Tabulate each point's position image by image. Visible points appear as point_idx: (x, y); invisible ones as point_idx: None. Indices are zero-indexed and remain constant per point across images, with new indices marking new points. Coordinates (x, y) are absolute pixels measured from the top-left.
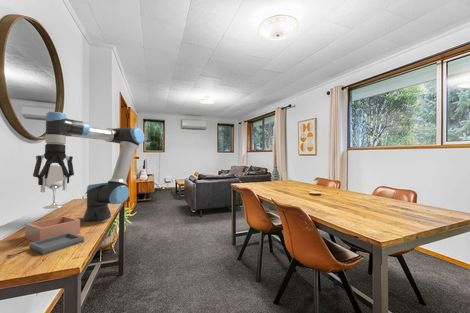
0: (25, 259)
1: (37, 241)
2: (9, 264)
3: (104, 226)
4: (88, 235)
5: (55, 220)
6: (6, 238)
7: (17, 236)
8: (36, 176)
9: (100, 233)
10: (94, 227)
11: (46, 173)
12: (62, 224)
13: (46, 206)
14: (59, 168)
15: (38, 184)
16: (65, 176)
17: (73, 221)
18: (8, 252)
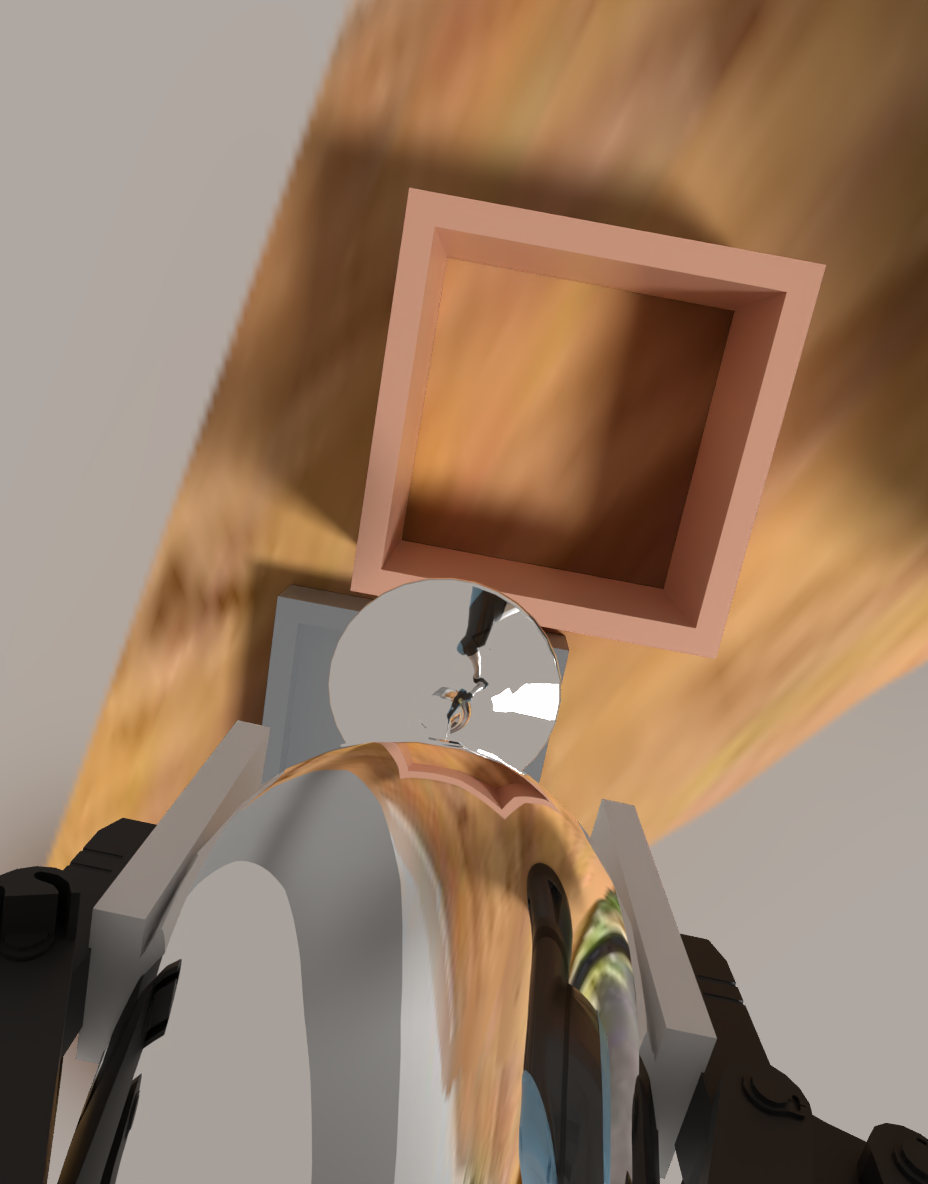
0: (186, 759)
1: (321, 620)
2: (112, 744)
3: (907, 666)
4: (647, 747)
5: (690, 280)
6: (355, 29)
7: (429, 72)
8: None
9: (716, 801)
10: (857, 594)
11: None
12: (541, 624)
13: (380, 645)
14: None
15: (109, 829)
16: (698, 1108)
17: (646, 645)
18: (195, 507)
